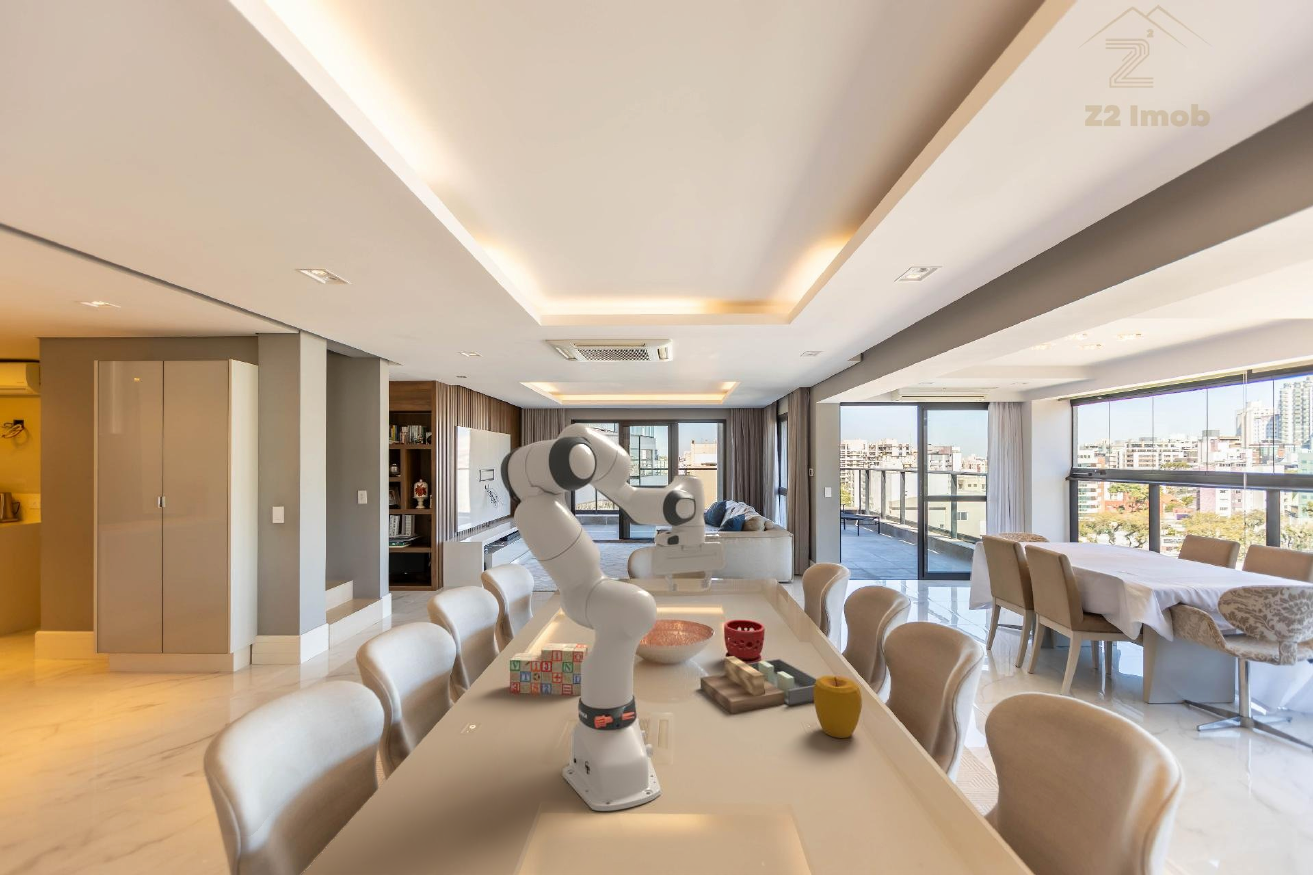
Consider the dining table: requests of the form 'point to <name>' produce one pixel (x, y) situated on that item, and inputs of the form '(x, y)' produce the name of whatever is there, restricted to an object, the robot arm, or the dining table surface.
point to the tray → (801, 682)
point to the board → (739, 694)
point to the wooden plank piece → (744, 675)
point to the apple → (837, 705)
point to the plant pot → (744, 640)
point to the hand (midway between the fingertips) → (689, 589)
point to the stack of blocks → (548, 670)
